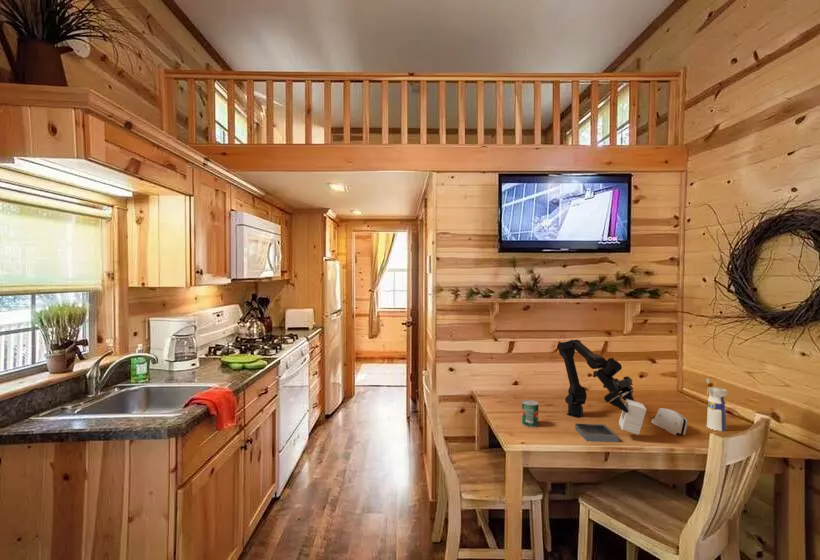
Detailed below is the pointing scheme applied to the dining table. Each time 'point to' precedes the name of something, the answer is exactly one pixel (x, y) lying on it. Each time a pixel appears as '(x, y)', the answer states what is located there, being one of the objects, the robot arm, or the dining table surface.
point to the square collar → (596, 432)
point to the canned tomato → (530, 413)
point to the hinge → (670, 421)
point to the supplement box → (632, 416)
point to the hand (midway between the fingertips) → (632, 409)
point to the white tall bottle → (716, 408)
